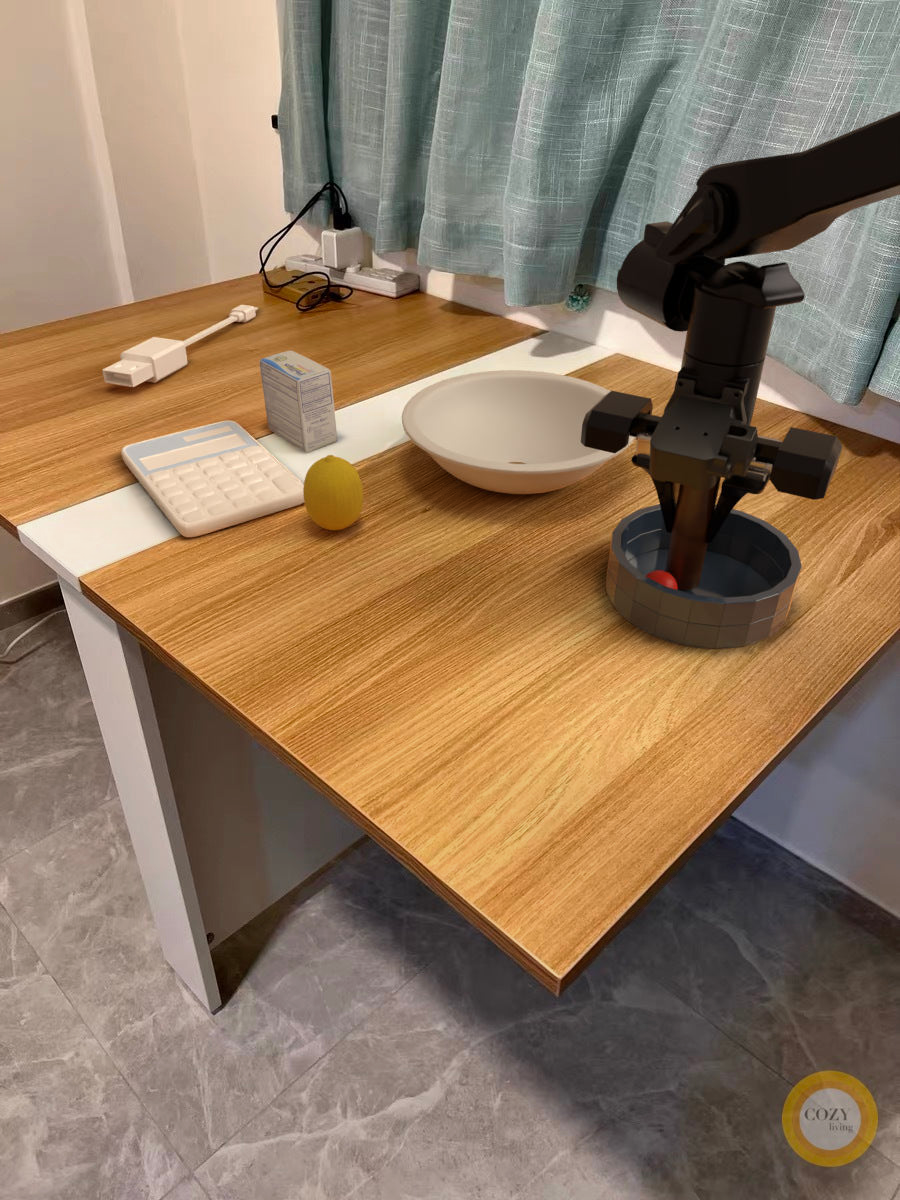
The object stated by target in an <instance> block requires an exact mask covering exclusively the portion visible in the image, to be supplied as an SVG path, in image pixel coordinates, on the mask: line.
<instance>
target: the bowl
mask: <svg viewBox="0 0 900 1200" xmlns="http://www.w3.org/2000/svg"><path fill="white" fill-rule="evenodd" d="M716 505H717V504H716ZM716 505H715V508H716ZM670 539H671V533H668V532H666V528H665V524H664V519H663V515H662V511H661V507H660V503H658V504H654V505H650V506H647V507H643V508H639V509H637V510H635V511H633V512H631V513H630V514H628V515H627V516H624V517H623V518H621V520H620V521H619V522H618V524H617V525H616V526H615V527H614V529H613V531H611V539H610V547H609V555H608V561H607V568H606V569H607V570H606V578H605V579H606V580H605V592H606V595H607V597H608V599H609V602H610V603H611V605H612V606H613V608H614V609H615V610H616V611H617V613H618V614H619V615H620V616H621V617H623V618H624V619H625V620H626V621H627V622H628V623H630V624H631V625H633V626H634V627H635V628H637V629H639V630H641V631H643V632H644V633H646V634H648V635H651V636H653V637H655V638H658V639H660V640H663V641H665V642H668V643H672V644H676V645H679V646H684V647H689V648H698V649H707V650H726V649H736V648H743V647H747V646H751V645H755V644H758V643H759V642H760V643H761V642H762V641H764V640H766V639H768V638H770V637H772V636H773V635H774V634H776V633H777V632H778V631H779V630H780V629H781V628H782V627H783V626H784V624H785V622H786V620H787V617H788V614H789V612H790V609H791V605H792V602H793V598H794V596H795V593H796V589H797V585H798V581H799V578H800V575H801V574H800V573H801V572H802V568H803V567H802V565H803V564H802V562H801V557H800V553H799V549H798V548H797V547H796V546H795V544H794V543H793V542H792V541H791V540H790V539H789V537H788V536H787V535H786V534H785V532H782V531H781V530H779V529H778V528H776V527H775V526H774V525H772V524H771V523H769V522H768V521H766V520H765V519H762V518H760V517H757V516H755V515H753V514H749V513H748V512H745V511H743V510H738V509H735V508H733V509H732V510H731V512H730V513H729V515H728V516H727V518H726V519H725V521H724V523H723V524H722V526H721V528H720V529H719V531H718V533H717V534H716V536H715V537H714V539H713V541H712V542H711V543H708V544H707V549H706V554H705V559H704V564H703V569H702V573H701V578H700V583H699V585H698V587H696V588H695V589H692V590H676V589H672V588H669V587H666V586H664V585H662V584H660V583H658V582H656V581H654V580H652V579H650V578H648V577H646V575H647V574H648V573H650V572H652V571H656V570H662V571H665V568H666V562H667V556H668V551H669V545H670Z"/></svg>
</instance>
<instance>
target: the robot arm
mask: <svg viewBox="0 0 900 1200" xmlns="http://www.w3.org/2000/svg"><path fill="white" fill-rule="evenodd" d="M695 185H696V190H695V191H694V192H693V194H692V195H691V197H690V198H689V200H688V201H687V202H686V204H685V206H684V207H683V208H682V210H681V211H680V213H679V214H678V216H677V218H676V219H675V221H674V222H673V223H672V222H670V221H660V222H652V223H647V224H645V226H644V233H643V234H644V235H643V239H642V240H641V241H639V242H638V243H637V244H635V245H634V246H633V247H632V248H631V250H630V251H629V252H628V253H627V255H626V256H625V258H624V260H623V262H622V264H621V265H620V266H621V267H620V268H619V269H618V271H617V276H616V290H617V291H616V292H617V294H618V297H619V299H620V301H621V303H622V304H623V305H625V307H627V308H628V309H630V310H633V311H634V312H636V313H638V314H640V315H642V316H644V317H646V318H648V319H650V320H652V321H654V322H655V323H657V324H659V325H661V326H663V327H666V328H667V329H669V330H672V331H673V332H681V333H683V332H686V336H685V341H684V348H683V353H682V359H681V365H680V370H679V371H678V372H677V376H676V381H675V383H674V390H673V392H672V394H671V396H670V398H669V400H668V402H667V403H666V405H665V407H664V411H663V413H662V414H661V416H659V415H654V414H653V408H654V404H653V400H652V398H651V397H647V396H646V397H645V396H640V395H635V394H630V393H625V392H622V391H617V390H616V391H615V390H609V391H610V392H609V393H608V394H606V395H605V396H604V397H603V398H602V399H601V400H600V401H599V402H598V403H597V404H595V405H594V406H593V407H592V408H591V409H590V410H589V411H588V412H587V413H586V415H585V418H584V420H583V423H582V432H581V443H582V444H583V445H584V446H585V447H589V448H593V449H598V450H602V451H606V452H611V453H617V452H618V451H620V450H621V449H623V448H624V447H626V446H627V445H628V442H629V436H633V437H635V441H636V447H635V453H634V454H633V455H632V457H631V459H630V460H631V463H632V465H633V466H635V467H638V468H641V469H642V470H644V471H645V473H646V474H648V475H649V476H650V478H651V481H652V483H653V485H654V488H655V491H656V494H657V498H658V502H659V503H658V504H660V507H661V511H662V515H663V519H664V524H665V528H666V532H668V533H672V528H673V522H674V516H675V510H676V505H677V499H678V493H679V488H680V484H683V485H687V486H690V487H691V488H692V489H695V490H708V489H711V488H712V487H714V485H715V484H716V482H717V480H718V477H721V479H722V478H723V481H722V483H721V488H720V493H719V496H718V498H717V501H716V508H715V510H714V513H713V516H712V519H711V522H710V525H709V528H708V532H707V538H706V543H711V542H712V541H713V539H714V537H715V536H716V534H717V533H718V531H719V529H720V528H721V526H722V524H723V523H724V521H725V519H726V518H727V516H728V515H729V513H730V512H731V510H732V509H735V506H736V505H737V504H738V503H739V502H740V501H741V500H742V498H744V497H745V496H746V495H747V494H751V495H760V494H762V493H763V492H764V491H765V489H766V488H767V485H768V484H769V482H771V484H772V485H773V487H774V488H775V489H776V490H777V492H779V493H783V494H788V495H791V496H795V497H796V496H797V497H800V498H805V499H810V500H813V501H816V500H823V499H825V497H826V494H827V493H828V490H829V487H830V484H831V482H832V481H833V477H834V475H835V473H836V471H837V468H838V464H839V460H840V457H841V453H842V449H843V445H842V443H841V441H840V439H839V437H838V436H837V435H832V434H828V433H823V432H817V431H811V430H808V429H802V428H797V427H792V426H790V427H789V429H788V430H787V433H786V435H785V437H784V438H783V440H781V439H778V438H774V437H770V436H765V435H760V434H759V433H758V428H757V427H756V426H752V420H753V416H754V411H755V406H756V403H757V398H758V397H757V396H758V392H759V388H760V384H761V379H762V374H763V370H764V364H765V361H766V356H767V351H768V346H769V343H770V337H771V333H772V328H773V324H774V321H775V320H774V319H775V314H776V310H777V307H782V306H788V305H792V304H799V303H801V302H803V301H804V299H805V296H806V295H805V292H804V290H803V288H802V286H801V284H800V282H799V281H798V280H796V278H794V276H793V275H792V272H791V271H790V267H789V263H787V262H784V261H783V262H778V263H777V262H776V263H772V264H771V263H770V264H765V265H761V266H759V265H756V264H753V263H751V262H747V261H734V262H730V263H729V262H728V263H727V264H726V260H728V259H735V258H741V257H749V256H756V255H763V254H769V253H777V252H785V251H789V250H791V249H794V248H796V247H797V246H799V245H802V244H803V243H805V242H807V241H808V240H811V239H812V238H814V237H816V236H818V235H819V234H821V233H823V232H825V231H826V230H827V229H828V228H829V227H830V226H832V224H833V223H834V222H835V221H836V219H839V218H840V217H841V216H844V215H845V214H847V213H849V212H850V211H853V210H855V209H856V210H857V209H859V208H861V207H865V206H868V205H872V204H875V203H878V202H880V201H884V200H888V199H890V198H894V197H896V196H900V110H899V111H897V112H894V113H892V114H890V115H887V116H885V117H882V118H880V119H877V120H875V121H872V122H870V123H867V124H866V125H864V126H861V127H858V128H856V129H854V130H851V131H849V132H846V133H844V134H841V135H839V136H837V137H834V138H831V139H829V140H827V141H825V142H822V143H820V144H818V145H816V146H815V145H814V146H813V147H811V148H808V149H806V150H804V151H803V150H802V151H798V152H792V153H786V154H780V155H779V154H778V155H772V156H771V155H770V156H764V157H756V158H750V159H744V160H737V161H732V162H725V163H720V164H719V163H717V164H715V165H712V166H709V167H708V168H707V169H705V170H704V171H703V172H702V173H701V174H700V175H699V177H698V178H697V180H696V183H695Z"/></svg>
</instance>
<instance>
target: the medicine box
mask: <svg viewBox="0 0 900 1200" xmlns="http://www.w3.org/2000/svg"><path fill="white" fill-rule="evenodd" d="M259 370H260V377H261V378H260V379H261V384H262V385H261V386H262V391H263V397H264V407H265V414H266V420H267V421H266V422H267V425H268V426H267V427H268V430H269V431H271V432H272V433H274V434H276V435H278V436H279V437H281V438H283V439H284V440H286V441H288V442H289V443H290V444H292V445H294V446H296V447H298V448H299V449H301V450H302V451H304V452H305V453H309V452H312V451H315V450H317V449H320V448H323V447H325V446H328V445H330V444H333V443H336V442H338V431H337V422H336V411H335V401H334V399H335V398H334V390H333V380H332V379H333V378H332V371H331V369H329V368H328V367H326V366H325V365H322V364H320V363H318V362H316V361H314V360H313V359H311V358H308V357H307V356H304V355H303V354H300V353H298V352H296V351H293V350H286V351H283V352H279V353H275V354H271V355H269V356H266V357H264V358H261V359H259Z"/></svg>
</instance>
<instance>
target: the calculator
mask: <svg viewBox="0 0 900 1200" xmlns="http://www.w3.org/2000/svg"><path fill="white" fill-rule="evenodd" d="M120 453H121V457H122V458H121V459H122V460H123V462H124V464H125V466H126V467H127V469H129V470H130V472H131V473H132V475H134V477H135V478H136V479H137V481H138V482H139V484H140V485H141V486H142V487H143V488H144V489H145V491H146V492H147V494H148V495H149V496H150V497H151V498H152V500H153V502H155V504H156V505H157V506H158V508H159V509H160V510H161V512H163V514H164V515H165V516H166V517H167V519H168V520H169V521H170V523H171V525H173V526H174V528H175V529H176V530H177V532H178V533H179V534H180V535H181V536H183V537H185V538H196V537H199V536H203V535H207V534H209V533H213V532H216V531H217V532H218V531H219V530H223V529H226V528H230V527H232V526H236V525H239V524H242V523H245V522H248V521H252V520H256V519H259V518H262V517H265V516H268V515H271V514H272V515H273V514H275V513H279V512H281V511H284V510H288V509H291V508H293V507H294V508H295V507H297V506H300V505H302V504H305V503H304V493H303V488H304V482H302V481H301V480H300V479H299V478H298V477H297V476H296V475H295V474H294V473H293V472H292V471H291V470H290V469H288V468H287V467H286V466H285V464H283V463H282V462H281V461H280V460H278V458H277V457H275V456H274V454H272V453H271V452H270V451H269V450H268V449H267V448H266V447H264V445H262V444H261V443H260V442H259V441H258V440H257V439H255V437H253V435H252V434H250V433H249V431H247V430H246V429H245V428H244V427H243V426H241V425H240V424H239V423H238V422H236V421H234V420H229V419H227V420H221V421H217V422H213V423H210V424H204V425H201V426H196V427H193V428H188V429H185V430H181V431H177V432H173V433H168V434H165V435H161V436H157V437H153V438H149V439H145V440H140V441H137V442H133V443H129V444H127V445H124V446H123V447H122V449H121V452H120Z"/></svg>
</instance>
